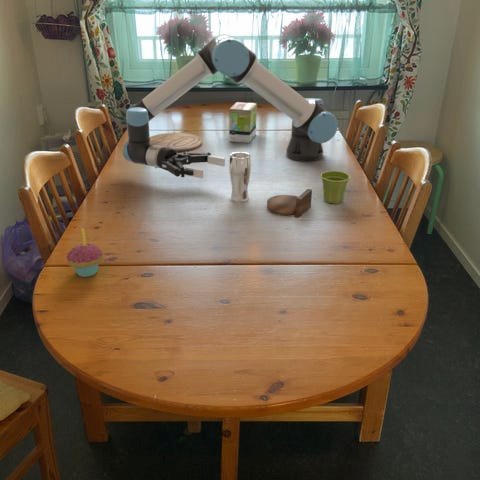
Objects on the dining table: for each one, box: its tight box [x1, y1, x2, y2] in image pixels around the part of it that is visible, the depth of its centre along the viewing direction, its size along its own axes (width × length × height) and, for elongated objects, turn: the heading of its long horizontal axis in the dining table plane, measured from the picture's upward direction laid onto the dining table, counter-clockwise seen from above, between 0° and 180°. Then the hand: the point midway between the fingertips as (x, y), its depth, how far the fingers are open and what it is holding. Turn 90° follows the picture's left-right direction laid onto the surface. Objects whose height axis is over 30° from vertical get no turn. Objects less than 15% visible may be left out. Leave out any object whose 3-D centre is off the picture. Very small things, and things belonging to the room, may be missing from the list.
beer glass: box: [228, 151, 252, 203], centre depth 162 cm, size 7×7×15 cm
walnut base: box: [266, 188, 313, 218], centre depth 158 cm, size 13×12×6 cm
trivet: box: [150, 132, 203, 153], centre depth 220 cm, size 25×25×2 cm
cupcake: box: [66, 224, 104, 278], centre depth 121 cm, size 9×8×12 cm
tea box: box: [228, 101, 258, 144], centre depth 226 cm, size 15×10×15 cm
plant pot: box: [320, 170, 351, 205], centre depth 163 cm, size 9×9×9 cm
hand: (214, 168), depth 166 cm, fingers open, 13 cm apart
